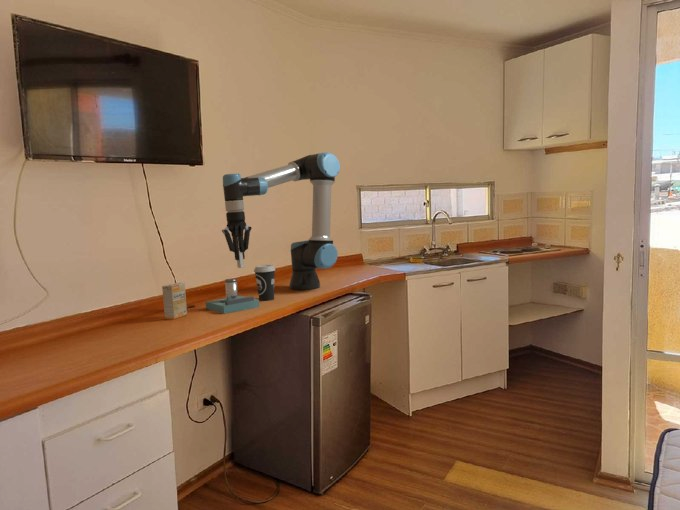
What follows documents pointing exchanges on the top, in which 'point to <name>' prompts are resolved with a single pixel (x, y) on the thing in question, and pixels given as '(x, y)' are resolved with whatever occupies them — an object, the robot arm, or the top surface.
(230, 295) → the metal cylinder
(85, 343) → the top surface
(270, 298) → the coffee cup
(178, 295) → the supplement box
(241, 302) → the jig
